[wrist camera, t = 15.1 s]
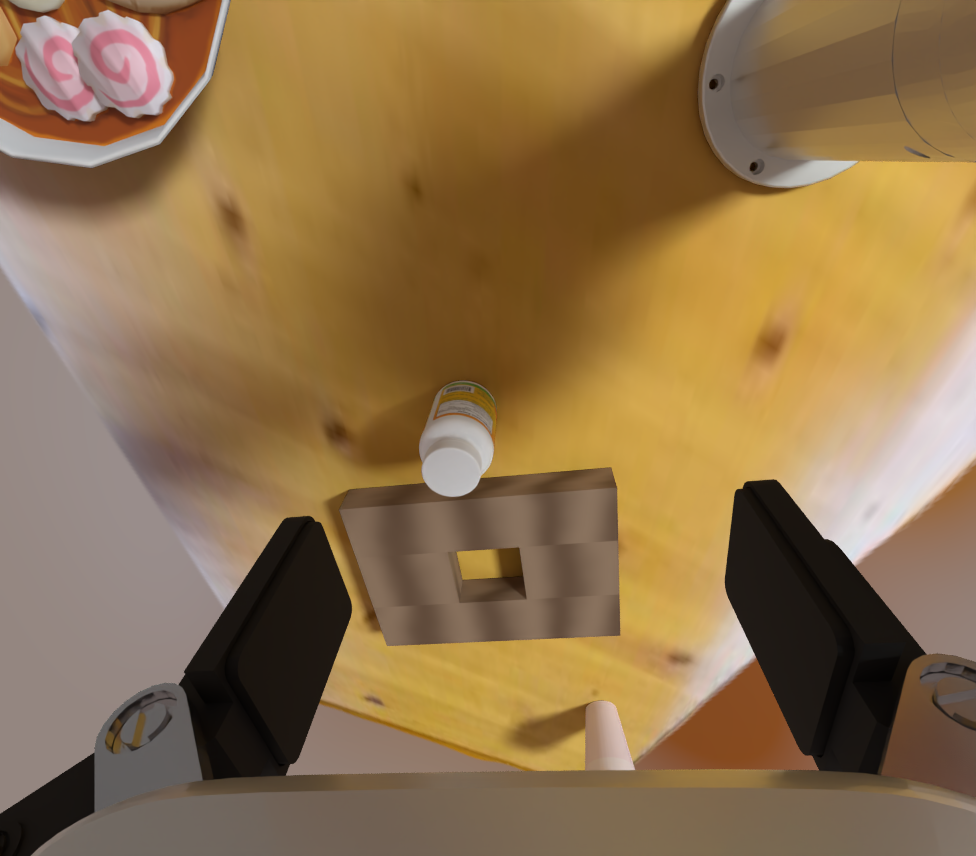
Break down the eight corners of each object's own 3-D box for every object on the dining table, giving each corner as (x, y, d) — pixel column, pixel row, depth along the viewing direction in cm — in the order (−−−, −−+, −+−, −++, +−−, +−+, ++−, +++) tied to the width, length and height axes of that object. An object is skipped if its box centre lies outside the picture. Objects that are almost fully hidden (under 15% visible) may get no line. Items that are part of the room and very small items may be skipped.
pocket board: (611, 467, 43) (616, 487, 41) (615, 611, 52) (620, 635, 49) (349, 489, 46) (338, 509, 44) (393, 622, 55) (387, 645, 52)
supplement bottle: (467, 447, 43) (455, 518, 35) (420, 408, 42) (394, 473, 33) (510, 408, 41) (508, 473, 33) (462, 365, 40) (446, 423, 31)
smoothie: (592, 687, 58) (612, 829, 46) (638, 704, 59) (669, 848, 47) (564, 715, 61) (575, 855, 49) (608, 731, 62) (630, 872, 50)
